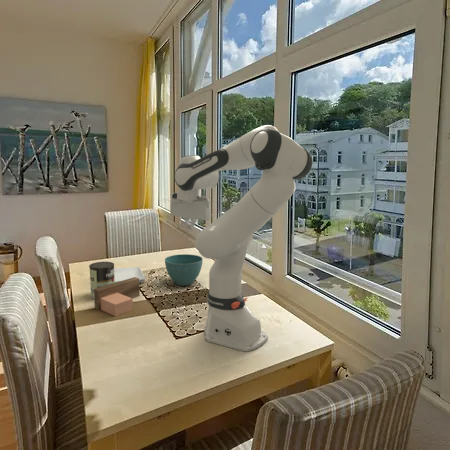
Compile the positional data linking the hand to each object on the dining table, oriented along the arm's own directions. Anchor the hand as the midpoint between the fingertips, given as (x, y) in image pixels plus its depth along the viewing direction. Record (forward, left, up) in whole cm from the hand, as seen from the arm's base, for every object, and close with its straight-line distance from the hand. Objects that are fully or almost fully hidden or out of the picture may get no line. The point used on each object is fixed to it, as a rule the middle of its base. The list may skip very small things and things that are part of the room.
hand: (190, 228), depth 150 cm
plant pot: (+17, -13, -31) cm, 38 cm away
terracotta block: (+14, +27, -31) cm, 44 cm away
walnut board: (+21, +22, -31) cm, 44 cm away
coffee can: (+32, +22, -31) cm, 50 cm away
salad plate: (+44, +4, -32) cm, 54 cm away
